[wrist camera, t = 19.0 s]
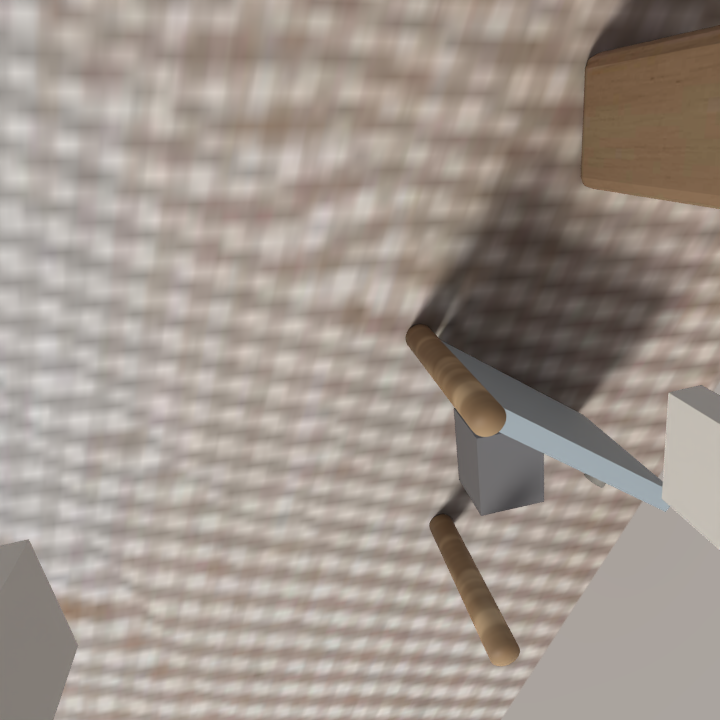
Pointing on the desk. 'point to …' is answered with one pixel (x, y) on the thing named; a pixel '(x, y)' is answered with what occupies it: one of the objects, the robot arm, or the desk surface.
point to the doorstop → (498, 470)
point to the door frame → (484, 422)
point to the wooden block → (655, 119)
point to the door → (564, 434)
